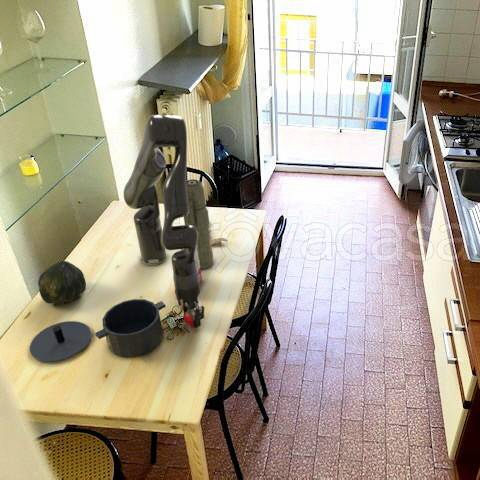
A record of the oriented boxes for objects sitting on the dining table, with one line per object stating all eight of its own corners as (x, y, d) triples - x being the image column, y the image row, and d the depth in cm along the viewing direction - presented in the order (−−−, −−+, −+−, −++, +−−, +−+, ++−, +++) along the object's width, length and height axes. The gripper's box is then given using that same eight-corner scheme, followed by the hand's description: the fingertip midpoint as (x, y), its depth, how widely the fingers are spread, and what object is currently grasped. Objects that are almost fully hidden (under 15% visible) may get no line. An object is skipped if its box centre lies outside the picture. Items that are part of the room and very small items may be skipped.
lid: (22, 341, 161) (16, 327, 157) (78, 316, 171) (73, 302, 168) (43, 373, 150) (37, 358, 147) (101, 344, 161) (97, 329, 157)
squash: (22, 292, 172) (40, 269, 165) (51, 268, 185) (69, 246, 177) (56, 319, 175) (75, 298, 168) (83, 294, 188) (101, 273, 180)
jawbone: (208, 251, 205) (207, 247, 204) (189, 229, 220) (188, 225, 219) (228, 244, 209) (227, 239, 208) (208, 222, 224) (208, 218, 222)
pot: (91, 341, 161) (84, 319, 156) (154, 310, 174) (150, 288, 169) (115, 371, 152) (108, 348, 146) (180, 336, 164) (176, 313, 159)
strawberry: (182, 323, 169) (180, 310, 166) (195, 316, 172) (193, 303, 169) (190, 331, 166) (188, 317, 163) (203, 324, 169) (201, 310, 166)
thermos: (188, 273, 192) (176, 190, 173) (191, 255, 202) (181, 175, 183) (212, 272, 193) (203, 189, 174) (214, 254, 203) (206, 174, 184)
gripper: (209, 287, 158) (214, 328, 167) (184, 266, 166) (190, 306, 175) (188, 297, 153) (194, 339, 162) (164, 276, 162) (171, 316, 171)
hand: (192, 322), depth 169 cm, fingers open, 5 cm apart
